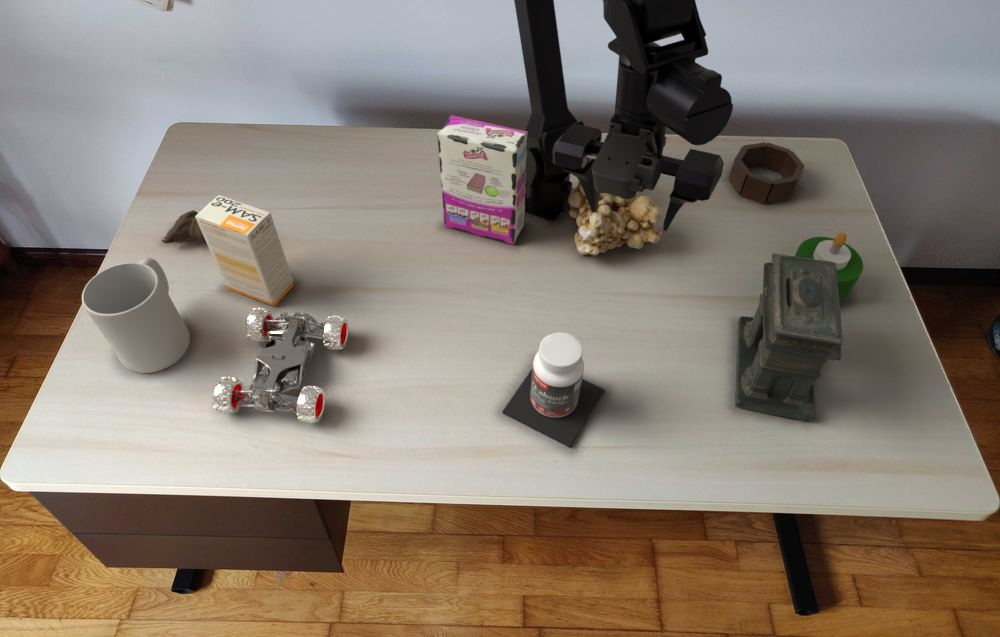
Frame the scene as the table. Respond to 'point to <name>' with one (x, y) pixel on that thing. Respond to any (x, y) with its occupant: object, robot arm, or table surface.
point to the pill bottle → (557, 375)
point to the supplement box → (246, 249)
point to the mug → (137, 315)
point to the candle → (835, 259)
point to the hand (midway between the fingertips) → (629, 220)
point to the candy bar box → (483, 178)
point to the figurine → (185, 229)
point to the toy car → (282, 365)
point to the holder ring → (761, 186)
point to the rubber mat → (554, 428)
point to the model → (789, 337)
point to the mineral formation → (613, 222)
